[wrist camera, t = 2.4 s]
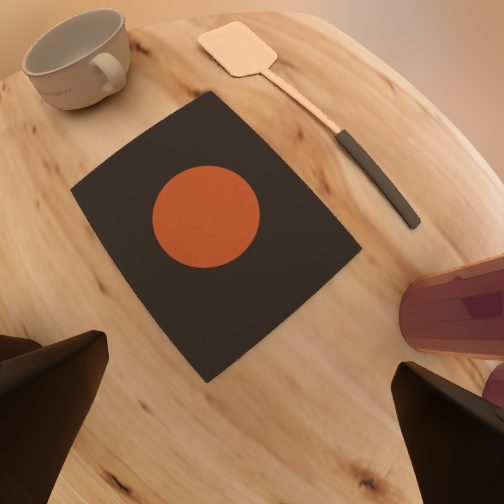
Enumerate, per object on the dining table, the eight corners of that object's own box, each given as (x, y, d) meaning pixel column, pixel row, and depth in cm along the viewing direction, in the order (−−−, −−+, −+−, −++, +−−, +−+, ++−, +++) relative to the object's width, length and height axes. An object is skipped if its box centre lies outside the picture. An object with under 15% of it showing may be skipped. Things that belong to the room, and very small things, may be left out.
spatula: (237, 28, 29) (238, 19, 28) (431, 208, 26) (439, 203, 24) (194, 47, 28) (193, 38, 27) (396, 247, 24) (405, 243, 23)
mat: (360, 249, 24) (362, 248, 24) (207, 382, 21) (206, 383, 21) (211, 92, 27) (211, 89, 26) (71, 191, 24) (69, 189, 23)
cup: (465, 314, 24) (562, 303, 12) (425, 367, 22) (527, 384, 11) (429, 261, 24) (527, 224, 13) (385, 313, 23) (488, 303, 11)
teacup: (44, 90, 26) (16, 48, 18) (119, 41, 28) (103, -6, 20) (76, 161, 24) (36, 114, 16) (170, 98, 26) (156, 38, 18)
